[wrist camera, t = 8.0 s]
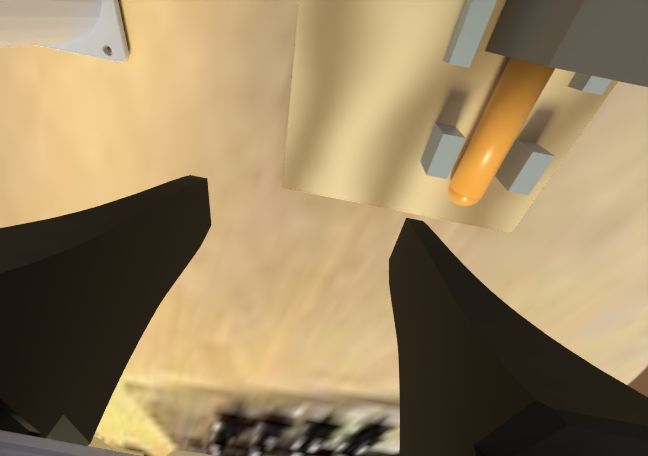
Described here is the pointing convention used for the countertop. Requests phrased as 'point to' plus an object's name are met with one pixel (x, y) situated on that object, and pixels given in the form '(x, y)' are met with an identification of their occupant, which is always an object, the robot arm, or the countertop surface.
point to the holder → (471, 32)
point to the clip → (513, 174)
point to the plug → (548, 70)
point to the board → (407, 108)
